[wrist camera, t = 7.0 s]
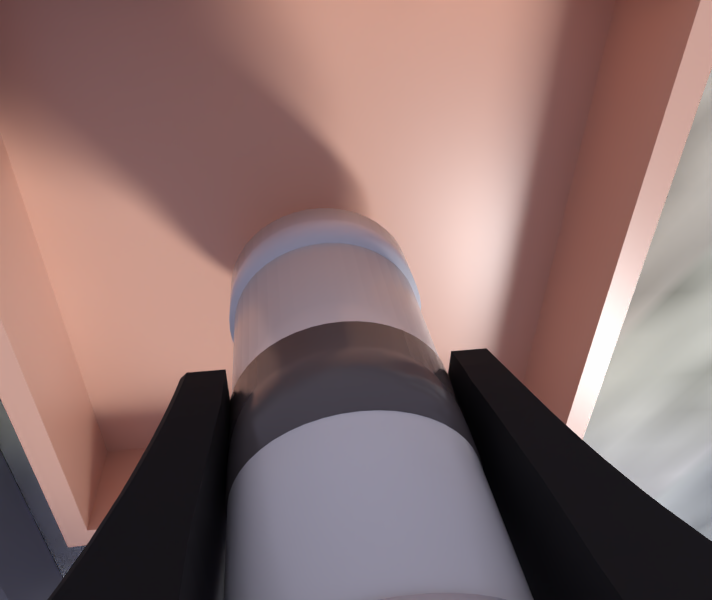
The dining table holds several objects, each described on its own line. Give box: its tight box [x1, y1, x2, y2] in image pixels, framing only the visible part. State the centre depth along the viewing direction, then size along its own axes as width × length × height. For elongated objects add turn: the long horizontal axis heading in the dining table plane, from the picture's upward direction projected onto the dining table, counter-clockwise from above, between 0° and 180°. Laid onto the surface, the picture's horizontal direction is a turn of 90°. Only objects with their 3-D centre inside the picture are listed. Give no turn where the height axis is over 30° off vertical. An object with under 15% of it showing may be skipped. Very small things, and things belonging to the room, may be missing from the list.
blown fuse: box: [224, 208, 534, 600], centre depth 9 cm, size 4×4×9 cm
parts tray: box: [0, 0, 712, 547], centre depth 13 cm, size 13×13×3 cm
